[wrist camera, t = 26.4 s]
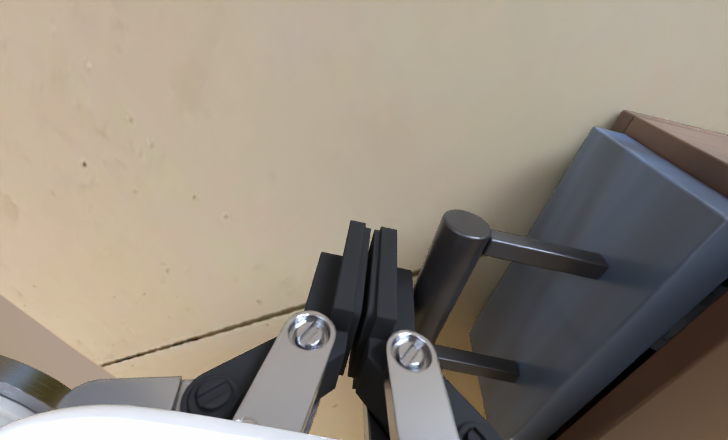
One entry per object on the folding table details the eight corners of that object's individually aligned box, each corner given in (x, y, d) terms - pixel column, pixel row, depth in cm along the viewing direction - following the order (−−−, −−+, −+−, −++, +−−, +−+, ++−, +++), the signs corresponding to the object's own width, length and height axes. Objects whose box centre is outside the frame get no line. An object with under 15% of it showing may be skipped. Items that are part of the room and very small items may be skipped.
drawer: (377, 313, 18) (370, 433, 13) (454, 92, 11) (495, 163, 7) (705, 382, 19) (812, 517, 14) (946, 210, 12) (1296, 350, 8)
